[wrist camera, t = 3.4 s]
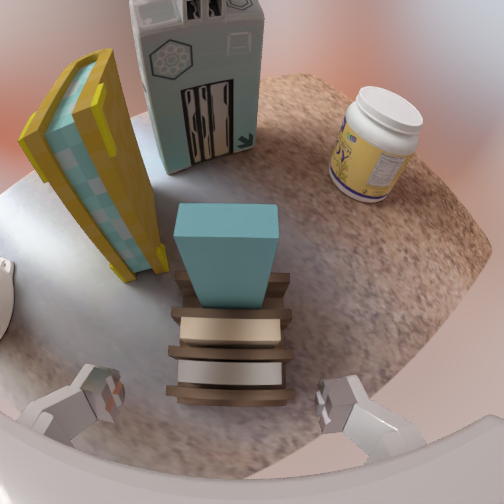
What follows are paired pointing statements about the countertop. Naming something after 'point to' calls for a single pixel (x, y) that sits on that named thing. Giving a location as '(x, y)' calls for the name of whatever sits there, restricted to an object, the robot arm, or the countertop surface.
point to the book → (97, 164)
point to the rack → (233, 393)
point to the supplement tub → (374, 144)
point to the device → (199, 75)
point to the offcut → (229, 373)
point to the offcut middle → (230, 333)
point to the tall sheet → (228, 251)
